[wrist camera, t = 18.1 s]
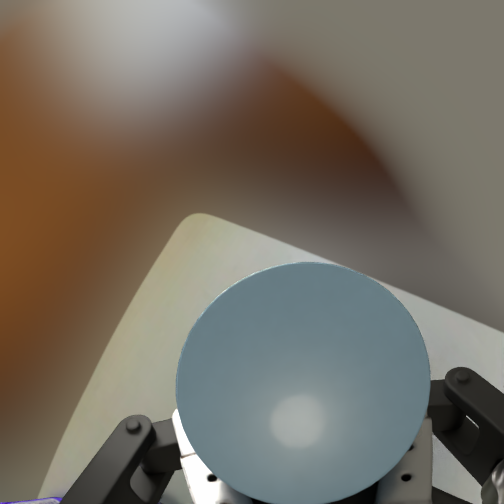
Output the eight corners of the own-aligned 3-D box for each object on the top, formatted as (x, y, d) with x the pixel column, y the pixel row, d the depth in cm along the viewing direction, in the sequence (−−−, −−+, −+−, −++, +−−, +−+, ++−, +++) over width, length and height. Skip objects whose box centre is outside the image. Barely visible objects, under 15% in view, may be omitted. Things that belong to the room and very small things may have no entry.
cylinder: (317, 348, 19) (361, 228, 7) (348, 418, 16) (465, 428, 4) (241, 379, 19) (147, 312, 6) (271, 451, 16) (227, 536, 4)
